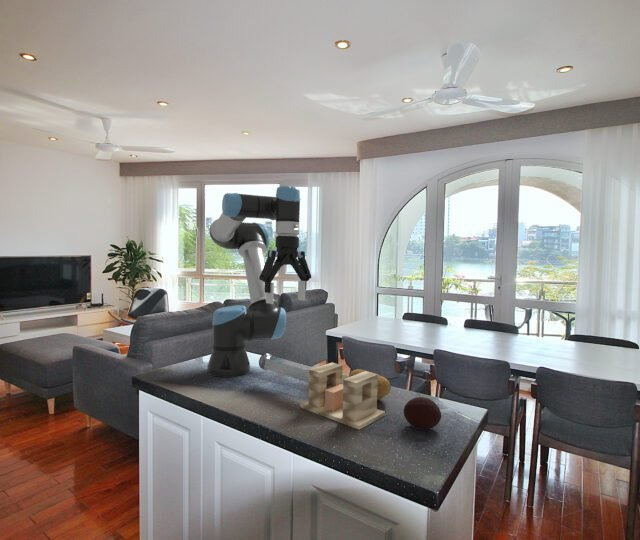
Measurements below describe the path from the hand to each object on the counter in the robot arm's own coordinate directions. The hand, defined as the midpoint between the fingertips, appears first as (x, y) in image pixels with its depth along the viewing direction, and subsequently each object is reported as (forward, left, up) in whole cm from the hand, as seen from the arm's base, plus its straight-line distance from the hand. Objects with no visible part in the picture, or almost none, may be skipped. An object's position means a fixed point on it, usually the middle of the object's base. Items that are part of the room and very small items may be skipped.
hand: (286, 301), depth 125 cm
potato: (+26, +10, -28) cm, 39 cm away
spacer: (+23, -3, -24) cm, 33 cm away
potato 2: (+47, +3, -28) cm, 54 cm away
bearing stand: (+26, -3, -28) cm, 38 cm away
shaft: (+7, -3, -23) cm, 24 cm away
